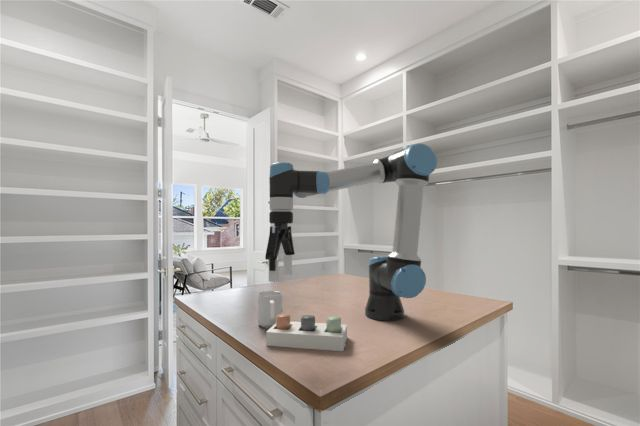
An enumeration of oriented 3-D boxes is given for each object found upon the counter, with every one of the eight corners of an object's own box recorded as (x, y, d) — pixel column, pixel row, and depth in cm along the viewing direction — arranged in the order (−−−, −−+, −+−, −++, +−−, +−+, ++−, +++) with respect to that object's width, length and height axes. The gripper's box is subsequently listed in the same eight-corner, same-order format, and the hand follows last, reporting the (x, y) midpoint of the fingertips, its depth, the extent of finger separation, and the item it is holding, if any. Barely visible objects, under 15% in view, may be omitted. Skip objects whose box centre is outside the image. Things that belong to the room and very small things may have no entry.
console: (347, 337, 98) (347, 324, 98) (343, 351, 87) (343, 336, 87) (278, 332, 103) (278, 320, 103) (266, 345, 92) (266, 331, 92)
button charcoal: (316, 328, 97) (316, 315, 97) (313, 333, 92) (313, 319, 93) (302, 328, 98) (302, 314, 98) (299, 332, 93) (299, 318, 93)
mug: (257, 321, 115) (257, 291, 115) (281, 319, 117) (280, 290, 117) (259, 332, 103) (259, 299, 103) (285, 330, 105) (285, 297, 106)
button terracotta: (291, 327, 98) (291, 314, 98) (287, 332, 94) (287, 318, 94) (278, 326, 99) (278, 313, 99) (274, 331, 95) (274, 317, 95)
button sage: (341, 330, 95) (341, 316, 95) (339, 335, 91) (339, 321, 91) (327, 329, 96) (327, 315, 96) (325, 334, 92) (325, 320, 92)
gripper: (282, 212, 112) (282, 271, 111) (254, 209, 88) (253, 284, 87) (302, 212, 110) (302, 272, 110) (279, 209, 86) (278, 285, 85)
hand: (281, 277), depth 98 cm, fingers open, 13 cm apart
